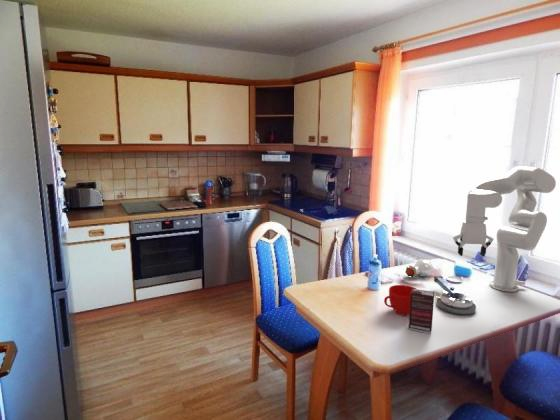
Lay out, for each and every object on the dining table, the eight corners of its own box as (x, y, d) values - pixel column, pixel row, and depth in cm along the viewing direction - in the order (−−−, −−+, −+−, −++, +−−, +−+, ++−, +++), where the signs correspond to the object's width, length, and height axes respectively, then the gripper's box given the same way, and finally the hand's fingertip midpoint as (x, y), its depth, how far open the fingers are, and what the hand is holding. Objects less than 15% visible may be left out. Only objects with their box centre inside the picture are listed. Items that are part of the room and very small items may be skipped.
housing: (465, 299, 175) (465, 295, 175) (482, 315, 159) (483, 311, 159) (431, 299, 175) (431, 295, 175) (445, 315, 160) (445, 310, 159)
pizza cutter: (450, 284, 188) (451, 275, 187) (477, 309, 161) (479, 298, 160) (424, 284, 188) (425, 274, 187) (447, 309, 161) (448, 298, 160)
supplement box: (431, 328, 149) (435, 291, 146) (431, 334, 144) (434, 296, 141) (409, 324, 152) (411, 287, 149) (407, 329, 148) (410, 292, 145)
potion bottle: (432, 277, 208) (411, 284, 202) (421, 263, 213) (400, 270, 208) (439, 267, 201) (418, 274, 195) (428, 253, 207) (407, 260, 201)
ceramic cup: (374, 310, 165) (375, 288, 163) (404, 303, 171) (405, 283, 169) (393, 323, 153) (395, 300, 151) (425, 315, 160) (427, 293, 158)
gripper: (491, 217, 171) (487, 253, 174) (452, 217, 173) (449, 252, 176) (498, 221, 164) (494, 258, 167) (457, 220, 166) (454, 257, 169)
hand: (471, 255), depth 172 cm, fingers open, 9 cm apart
